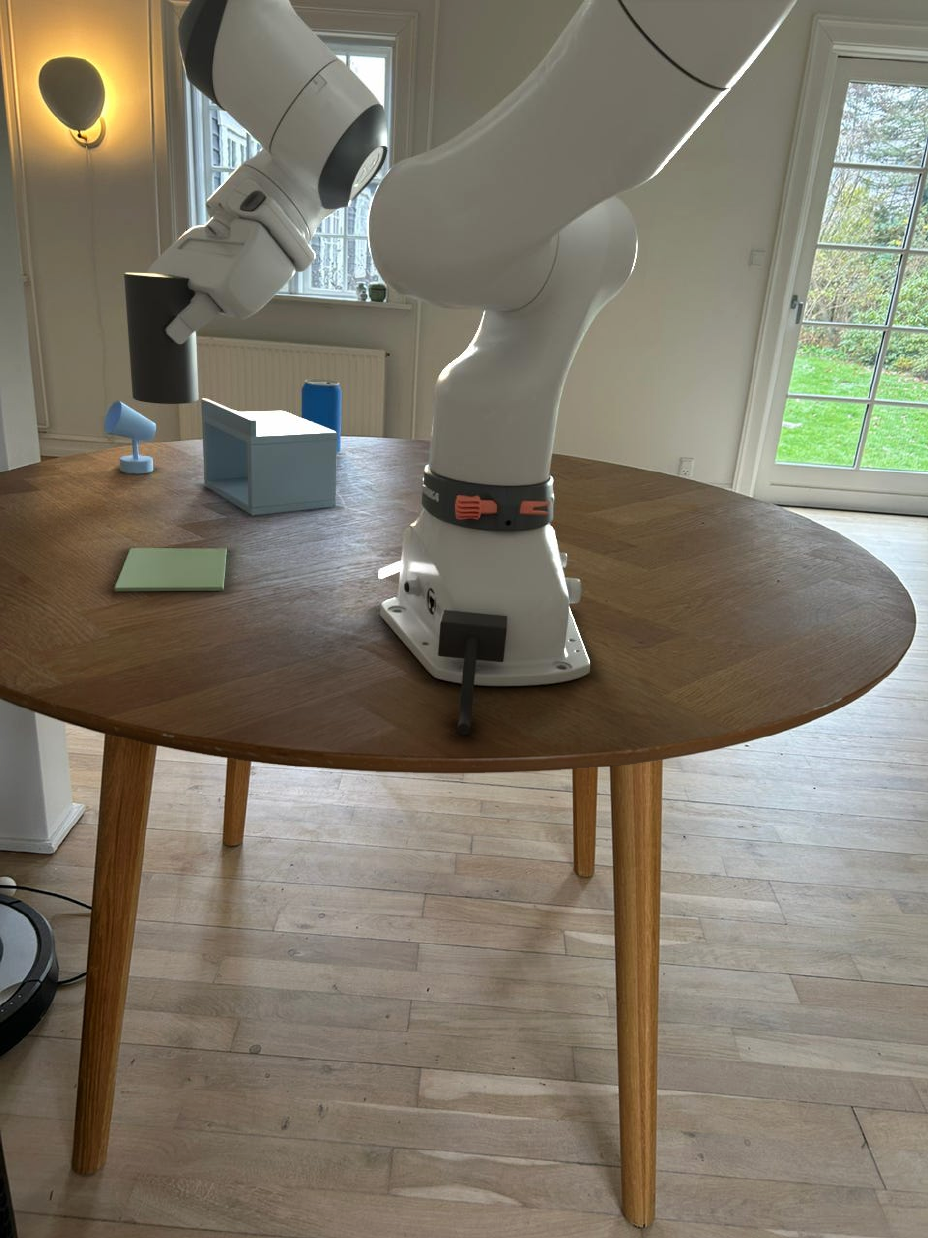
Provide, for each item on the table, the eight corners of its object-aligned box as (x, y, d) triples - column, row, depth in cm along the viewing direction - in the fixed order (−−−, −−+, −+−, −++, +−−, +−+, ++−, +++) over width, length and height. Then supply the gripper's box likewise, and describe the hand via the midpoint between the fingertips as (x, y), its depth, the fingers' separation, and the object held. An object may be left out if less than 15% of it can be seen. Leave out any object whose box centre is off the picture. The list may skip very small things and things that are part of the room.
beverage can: (344, 452, 146) (345, 381, 142) (335, 460, 140) (336, 385, 136) (307, 449, 146) (307, 377, 142) (296, 456, 141) (296, 381, 136)
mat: (223, 590, 84) (223, 586, 84) (114, 591, 81) (114, 587, 81) (226, 551, 94) (226, 548, 94) (130, 551, 92) (130, 547, 92)
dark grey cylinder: (196, 405, 80) (191, 279, 75) (128, 402, 78) (119, 273, 74) (200, 394, 85) (195, 276, 81) (136, 392, 84) (128, 271, 79)
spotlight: (115, 475, 120) (163, 471, 125) (109, 403, 117) (159, 402, 121) (103, 468, 124) (150, 464, 128) (97, 398, 120) (146, 396, 124)
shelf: (335, 506, 115) (337, 416, 110) (252, 515, 108) (250, 420, 103) (283, 478, 126) (282, 396, 122) (204, 485, 119) (200, 398, 115)
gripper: (189, 198, 86) (97, 297, 84) (278, 198, 71) (168, 318, 70) (232, 250, 90) (145, 344, 89) (325, 260, 76) (223, 374, 74)
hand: (156, 333), depth 79 cm, fingers closed on dark grey cylinder, 6 cm apart
